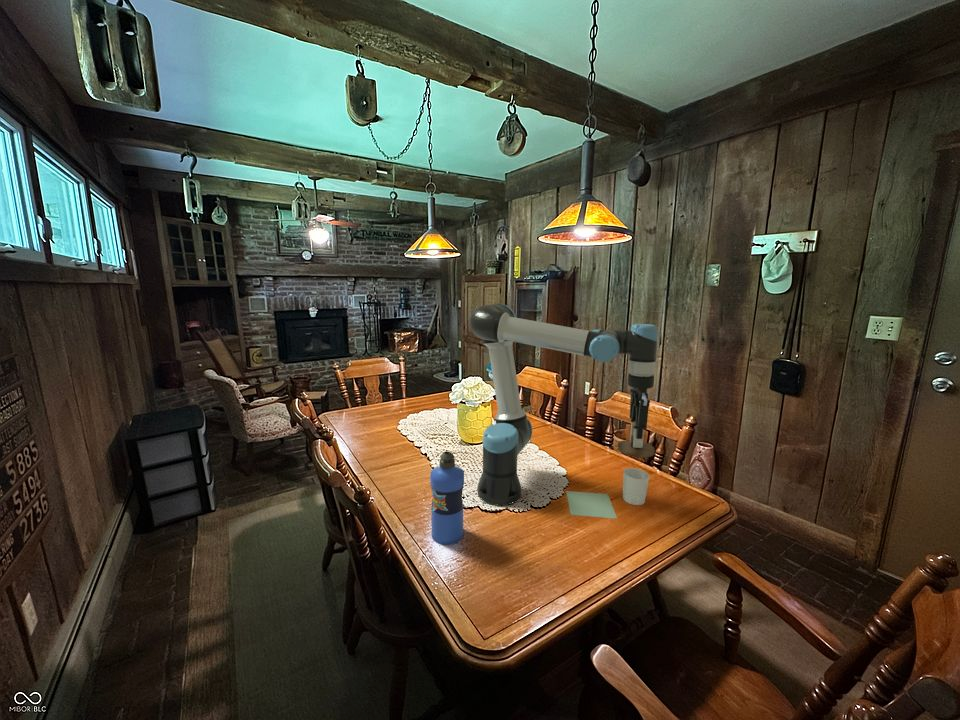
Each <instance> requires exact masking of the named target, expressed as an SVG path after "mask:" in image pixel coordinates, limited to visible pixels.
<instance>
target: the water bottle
mask: <svg viewBox="0 0 960 720" xmlns="http://www.w3.org/2000/svg"><path fill="white" fill-rule="evenodd" d="M439 458H440V459H439V466H437V467H434V468H433V469H432V470H431V471H430V475H429V476H430V478H429V479H430V480H429V481H430V482H429V483H430V487H431V494H432V501H431V509H430V511H431V513H430V515H431V516H430V517H431V538H432V540H433V542H435V543H436V544H439V545H443V546H449V545H450V546H451V545H454V544H456V543H459V542H460V541H461V540H462V539H463V537H464V503H463V492H464V491H463V490H464V489H463V488H464V485H465V471H464V470H463V469H462V467H460V466H457V465H456V459H455V455H454V454H453V453H452V452H451V451H448V450H446V451H444V452H443V453H441V455H440V456H439Z"/></svg>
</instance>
